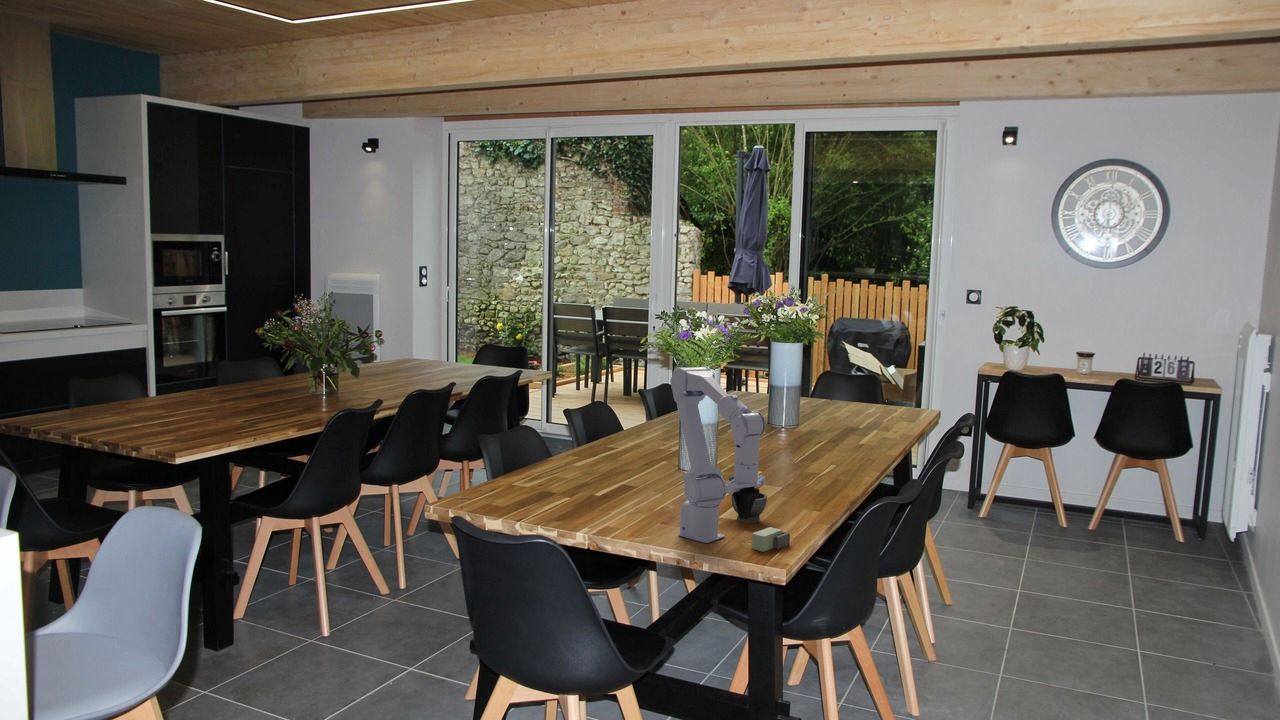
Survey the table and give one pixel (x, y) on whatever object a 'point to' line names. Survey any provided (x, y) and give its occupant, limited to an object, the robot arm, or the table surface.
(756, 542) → the rectangular block
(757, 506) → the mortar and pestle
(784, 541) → the dark grey piece
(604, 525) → the table surface
